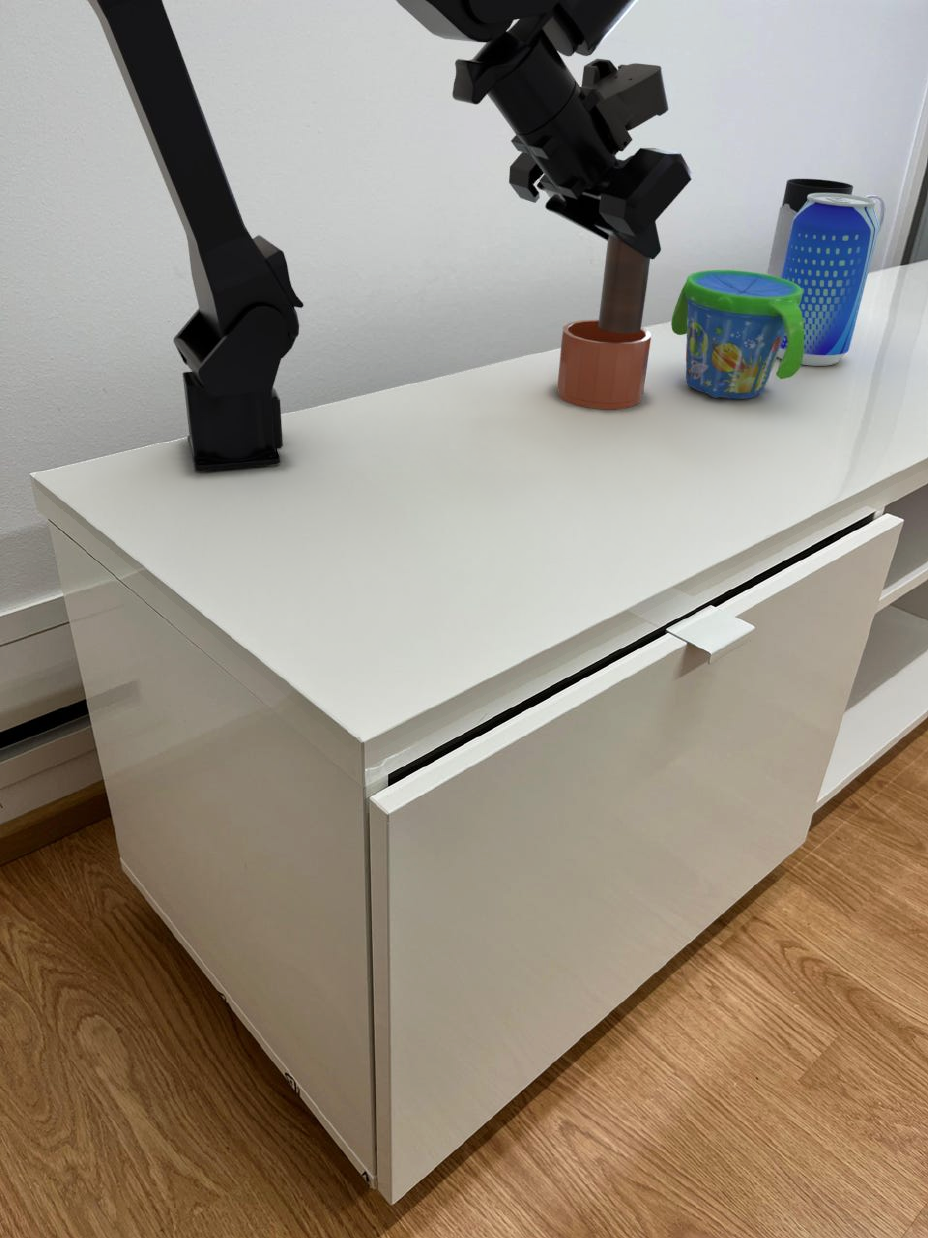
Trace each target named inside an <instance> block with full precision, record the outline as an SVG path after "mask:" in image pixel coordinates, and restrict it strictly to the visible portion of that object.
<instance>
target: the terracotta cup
mask: <svg viewBox="0 0 928 1238" xmlns="http://www.w3.org/2000/svg"><path fill="white" fill-rule="evenodd" d="M598 323H599V319H584V320H583V319H582V320H580V319H579V320H576V321H571V322H568V323H567V324H565V325H563V326H562V330H561V331H562V332H561V342H560V354H559V362H558V363H559V364H558V374H557V386H556V393H557V395H558V396H559V398H560V399H562V400H564V401H565V402H567V403H570V404H573V405H576V406H578V407H584V408H589V409H596V410H621V409H627V408H632V407H634V406H637V405H638V404H640V402H642V399H643V395H644V390H645V383H646V376H647V369H648V362H649V354H650V349H651V341H652V335H651V332H650V331H649V330H647V329H645V328H643V327H642V326H641V330H640V331H639V332H637V333H631V334H619V333H612V332H607V331H604V330H602V329H600V328H599V327H598Z"/></svg>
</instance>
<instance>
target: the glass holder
mask: <svg viewBox="0 0 928 1238" xmlns="http://www.w3.org/2000/svg"><path fill="white" fill-rule="evenodd" d="M853 190H854V185H852V184H850V183H847V182H842V181H837V180H828V179H820V178H789V179H787V180H786V184H785V189H784V194H783V199H782V204H781V206H780V207H779V212H778V216H777V221H776V226H775V231H774V237H773V240H772V242H773V243H772V247H771V251H770V255H769V256H770V257H769V262H768V266H767V271H766V275H771V276H775V277H779V278H781V276H782V271H783V266H784V262H785V257H786V252H787V247H788V242H789V237H790V232H791V228H792V223H793V219H794V217H795V215H796V214H797V213H798V212H799V210H800V209H801V208H802V207H803V206H804V204H805V203H806V202H807V200H808V199H807V196H808V195H809V194H813V193H837V194H848V195H853ZM863 197H866V198H870V199H874V200H877V201H878V203H879V208H880V209H879V217H878V222H879V232H878V236H877V238H878V237H879V235H880V233H881V231H882V227H883V224H884V220H885V216H886V211H887V210H886V208H887V207H886V204H885V201H884V199H883V198H882V197H880V196H878V195H876V194H867V195H864V196H863Z"/></svg>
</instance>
